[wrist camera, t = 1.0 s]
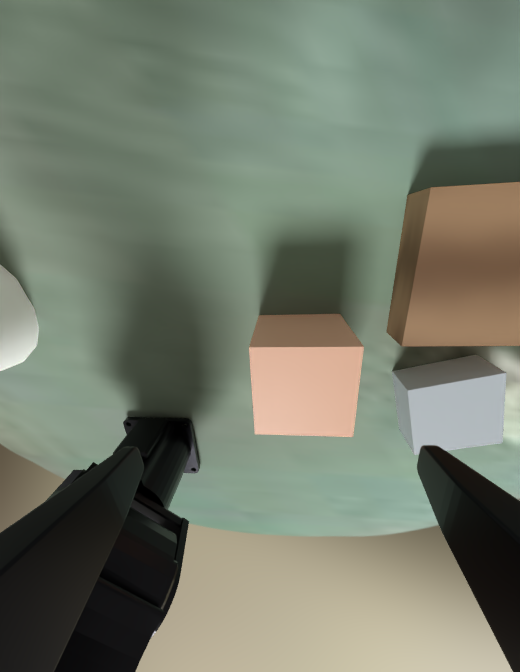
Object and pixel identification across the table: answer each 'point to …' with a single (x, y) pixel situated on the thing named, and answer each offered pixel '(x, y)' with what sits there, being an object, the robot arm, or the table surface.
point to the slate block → (451, 403)
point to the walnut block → (459, 268)
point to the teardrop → (15, 322)
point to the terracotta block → (305, 375)
